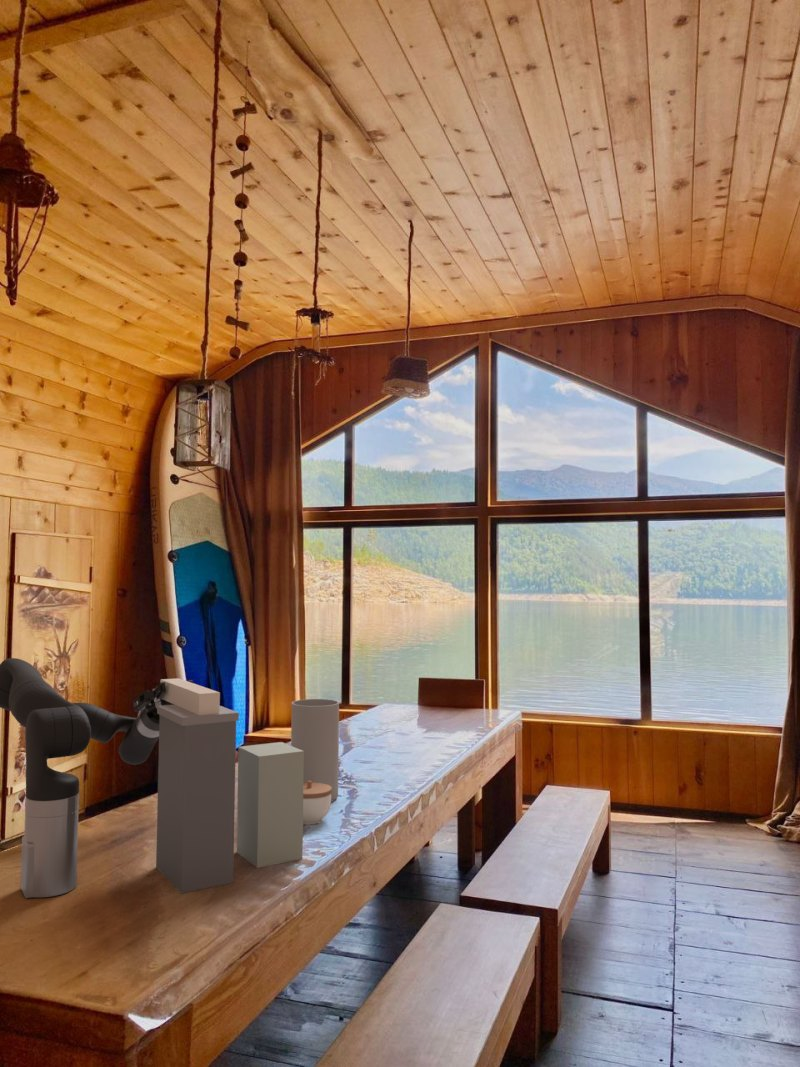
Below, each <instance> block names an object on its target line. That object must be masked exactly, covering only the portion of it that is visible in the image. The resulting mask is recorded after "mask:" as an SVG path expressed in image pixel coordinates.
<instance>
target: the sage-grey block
mask: <svg viewBox="0 0 800 1067" xmlns="http://www.w3.org/2000/svg"><path fill="white" fill-rule="evenodd" d="M237 750H238V756H237V758H238V759H237V764H238V765H237V804H236V805H237V808H236V811H237V815H236V816H237V818H236V853H237V854H239V855H240V856H241V857H242V858H243V859H245V860H246V861H248V862H249V863H250V864H251V865H253V866H254V867H255V868H263V867H264V868H265V867H269V866H274V865H278V864H279V865H280V864H284V863H288V862H294V861H297V860H303V835H304V834H303V832H304V831H303V830H304V829H303V828H304V824H303V775H304V751H302V750H300V749H298V748H295V747H293V746H291V744H287V743H285V742H283V741H278V742H269V743H261V744H260V743H259V744H251V745H244V746H238V749H237Z"/></svg>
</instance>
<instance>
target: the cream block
mask: <svg viewBox="0 0 800 1067" xmlns="http://www.w3.org/2000/svg"><path fill="white" fill-rule="evenodd" d="M188 681H189V680H184V679H182V678H178V677H177V678H164V679H163V678H161V679H160V681H159V682H160V683H161V682H165V686H166V692H165V693H164V695H163V696H162V698H161V699H163V700H165V701H168V702H170V703H172V704H174V705H177V706H179V707H181V708H184V709H186V710H188V711H190V712H193V713H195V714H197V715H208V714H219V710H220V706H221V705H220V704H221V702H220V701H221V692H219V691H217V690H214V689H211V688H208V687H205V686H202V685H199V684H196V683H195V682H194V683H195V684H194V683H191V682H188ZM160 683H159V684H160Z"/></svg>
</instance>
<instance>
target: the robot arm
mask: <svg viewBox="0 0 800 1067" xmlns="http://www.w3.org/2000/svg"><path fill="white" fill-rule="evenodd" d="M187 681H188V682H191V683H194V684H196V683H195V682H194V680H193V679H189V680H187ZM165 692H166V686H165V682H161V683H159V684H157V685H156V686H155V687H154V688H152V690H151V691H150V690H149V689H145V690H143V691H142V692H140V694H139V695H137V696H136V697H135V698H134V699H133V701H132V702H133V709H134V712H136V713H137V717H131V716H127V715H119V714H116V713H114V712H111V711H109V710H106V709H103V708H102V707H99V706H97V705H95V704H91V703H87V702H70V700H67V699H65V697H63V696H62V695H61V694H59V693H58V691H57V690H56V689H55V688H54V687H53V686H52V685H51V684H49V683H48V682H47V681H45V680H44V678H43V676H42V674H41V672H40V671H39V670H38V669H37V668H36V667H35V666H34V665H32V664H31V663H29V662H28V661H25V660H23V659H21V658H18V657H17V658H15V657H14V658H13V657H9V658H6V659H4V660H2V661H1V663H0V708H1V709H3V710H6V711H8V712H11V715H12V716H13V717H14V719H15V720H16V722H17V723H18V724H19V725H21V726H22V727H24V728H25V734H24V736H25V738H24V739H25V801H24V802H25V808H24V810H25V811H24V814H25V815H24V835H23V836H22V838H21V858H20V859H21V862H20V863H21V864H20V866H21V867H20V889H21V892H22V894H23V896H24V898H25V899H29V898H51V897H55V896H57V897H58V896H59V895H64V894H66V893H68V892H70V891H73V890H74V889H75V888H76V887H77V885H78V883H77V880H78V847H79V846H78V843H79V842H78V840H79V838H78V837H79V809H80V808H79V805H80V804H79V803H80V801H79V800H80V778H79V777H78V776H76V775H74V774H71V773H68V772H64V771H63V772H62V771H58V770H55V769H53V768H51V767H49V765H48V760H49V759H56V758H57V759H58V758H65V757H73V756H76V755H79V754H81V753H83V752H84V751H85V750H86V749H87V748H88V746H89V743H91V742H90V741H91V739H92V740H95V741H96V742H99V743H102V744H107V743H109V742H110V741H111V740H112V738H114V737H115V735H116V733H118V732H126V733H125V735H124V737H123V738H122V741H121V743H120V745H119V748H118V754H119V755H118V756H120V758H121V760H122V761H123V762H124V763H126V764H128V765H133V766H134V765H140V764H143V763H144V762H146V761H147V760H148V758H149V757H150V755H151V753H152V751H153V749H154V747H155V745H156V743H157V742H158V741H159V720H160V715H159V714H157V706H163V705H174V704H172V703H170V702H168V701H165V700H163V699H161V698H162V696H163V695H164V693H165Z"/></svg>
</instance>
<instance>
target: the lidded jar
mask: <svg viewBox="0 0 800 1067" xmlns="http://www.w3.org/2000/svg"><path fill="white" fill-rule="evenodd" d="M331 793H332V787H331V786H329V785H327V784H323V783H312V781H307V783H303V825H317V824H320V823H321V822H323V819H324V818H326V816H327V815H328V813H329V810H330V807H331V802H332V801H331ZM319 822H320V823H319ZM316 823H317V824H316Z"/></svg>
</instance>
